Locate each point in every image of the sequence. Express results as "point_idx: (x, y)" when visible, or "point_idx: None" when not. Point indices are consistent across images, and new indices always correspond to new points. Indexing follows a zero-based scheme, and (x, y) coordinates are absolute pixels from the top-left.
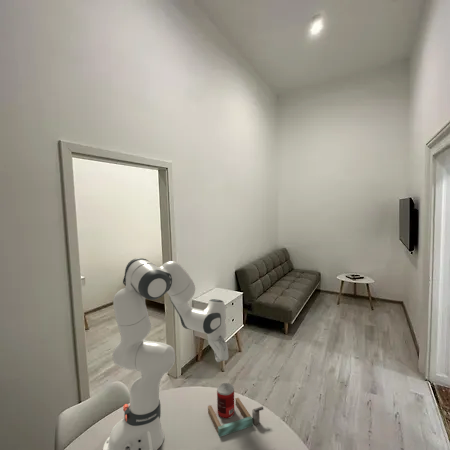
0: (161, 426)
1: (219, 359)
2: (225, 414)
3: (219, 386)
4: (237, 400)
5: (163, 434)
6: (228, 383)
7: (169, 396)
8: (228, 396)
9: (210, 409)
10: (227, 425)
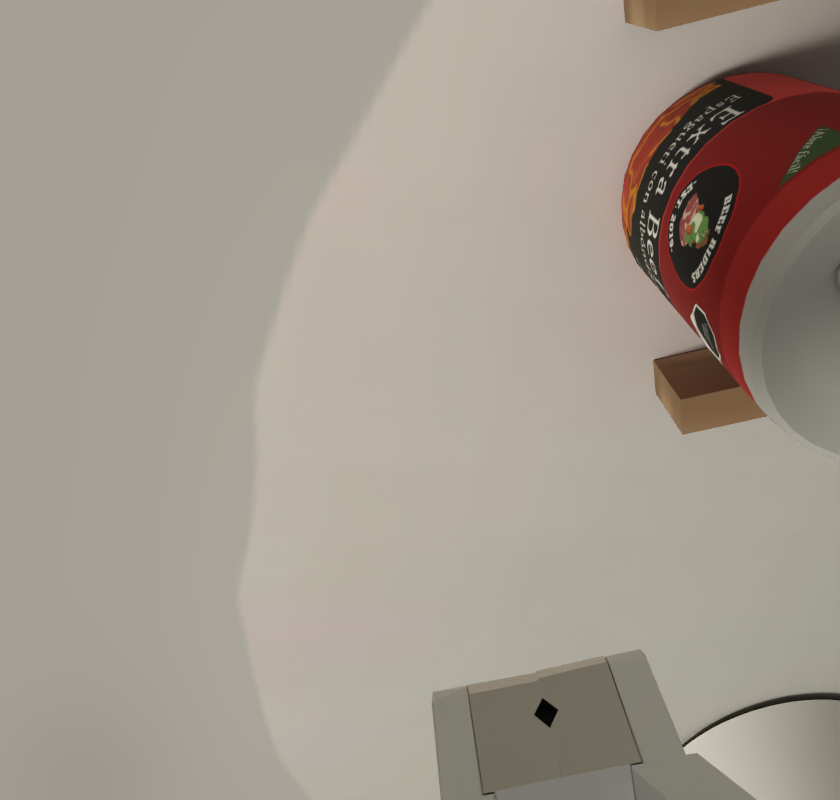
0: (817, 778)
1: (668, 740)
2: None
3: (811, 420)
4: (719, 2)
5: (801, 715)
6: (810, 244)
7: (310, 711)
8: None
9: (750, 411)
10: None
